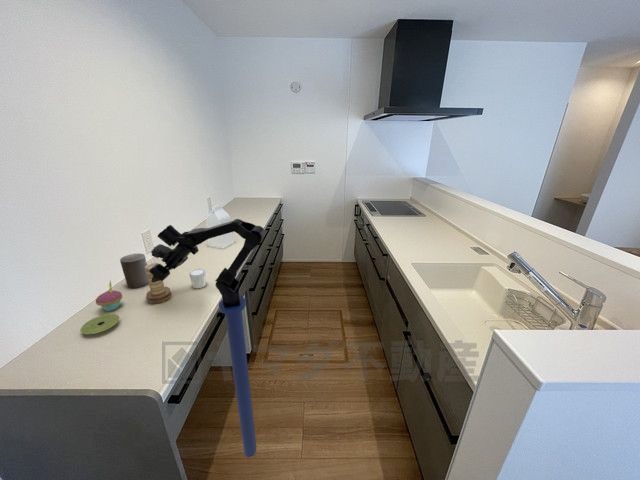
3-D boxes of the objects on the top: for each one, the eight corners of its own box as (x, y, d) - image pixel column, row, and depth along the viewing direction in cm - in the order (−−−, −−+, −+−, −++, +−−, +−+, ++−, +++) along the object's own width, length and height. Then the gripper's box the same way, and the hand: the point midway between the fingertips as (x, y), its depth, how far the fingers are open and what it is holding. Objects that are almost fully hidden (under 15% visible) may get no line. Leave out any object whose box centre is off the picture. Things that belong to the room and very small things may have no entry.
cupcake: (120, 299, 114) (112, 274, 109) (128, 306, 109) (120, 281, 105) (95, 308, 107) (86, 283, 103) (103, 316, 103) (94, 290, 98)
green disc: (100, 340, 91) (99, 335, 90) (73, 335, 93) (71, 331, 92) (128, 319, 101) (126, 315, 101) (103, 316, 103) (101, 312, 102)
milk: (223, 248, 167) (218, 208, 157) (208, 246, 170) (202, 207, 161) (234, 242, 177) (230, 204, 168) (220, 239, 181) (215, 202, 171)
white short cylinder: (208, 286, 124) (206, 273, 122) (193, 290, 121) (190, 277, 118) (205, 280, 130) (203, 267, 127) (190, 284, 126) (187, 271, 123)
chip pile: (173, 290, 121) (172, 284, 119) (170, 302, 112) (168, 296, 111) (150, 294, 118) (148, 288, 117) (144, 306, 109) (142, 299, 108)
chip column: (167, 290, 115) (161, 264, 110) (155, 296, 111) (149, 269, 106) (160, 287, 117) (154, 261, 112) (148, 293, 113) (142, 266, 108)
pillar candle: (126, 290, 120) (118, 261, 115) (127, 281, 128) (119, 253, 122) (151, 284, 125) (144, 256, 119) (151, 276, 133) (144, 249, 127)
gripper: (176, 231, 113) (156, 254, 118) (148, 248, 96) (126, 274, 100) (196, 248, 116) (176, 270, 120) (174, 268, 99) (151, 292, 103)
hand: (159, 276), depth 111 cm, fingers open, 9 cm apart
